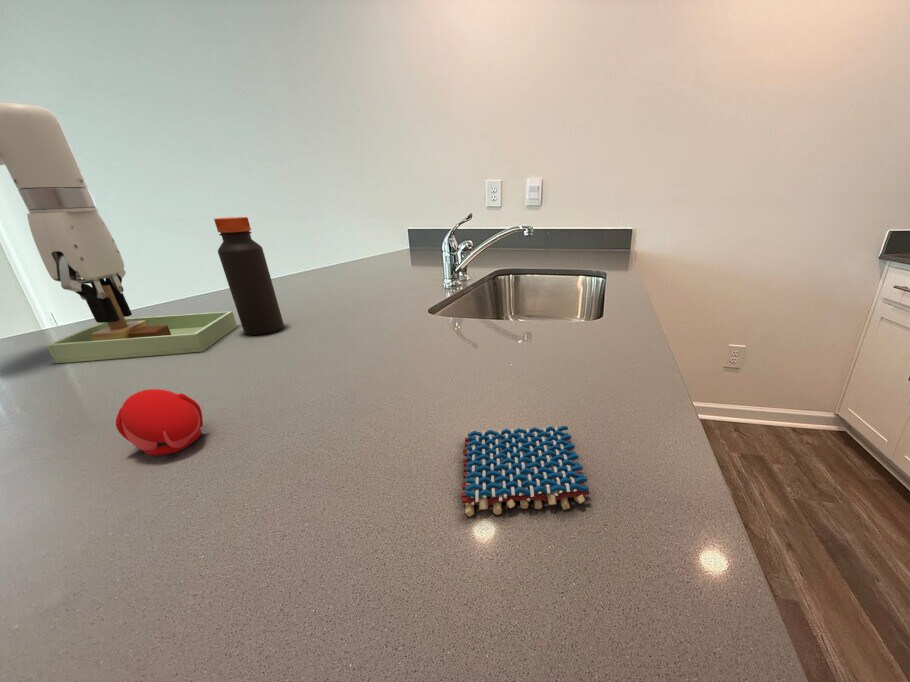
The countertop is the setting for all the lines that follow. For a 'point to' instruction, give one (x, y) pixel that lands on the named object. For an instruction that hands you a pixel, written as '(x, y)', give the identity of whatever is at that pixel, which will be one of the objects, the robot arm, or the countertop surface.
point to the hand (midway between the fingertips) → (114, 318)
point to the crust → (150, 331)
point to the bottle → (248, 277)
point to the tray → (147, 338)
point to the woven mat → (521, 469)
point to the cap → (159, 421)
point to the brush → (116, 328)
